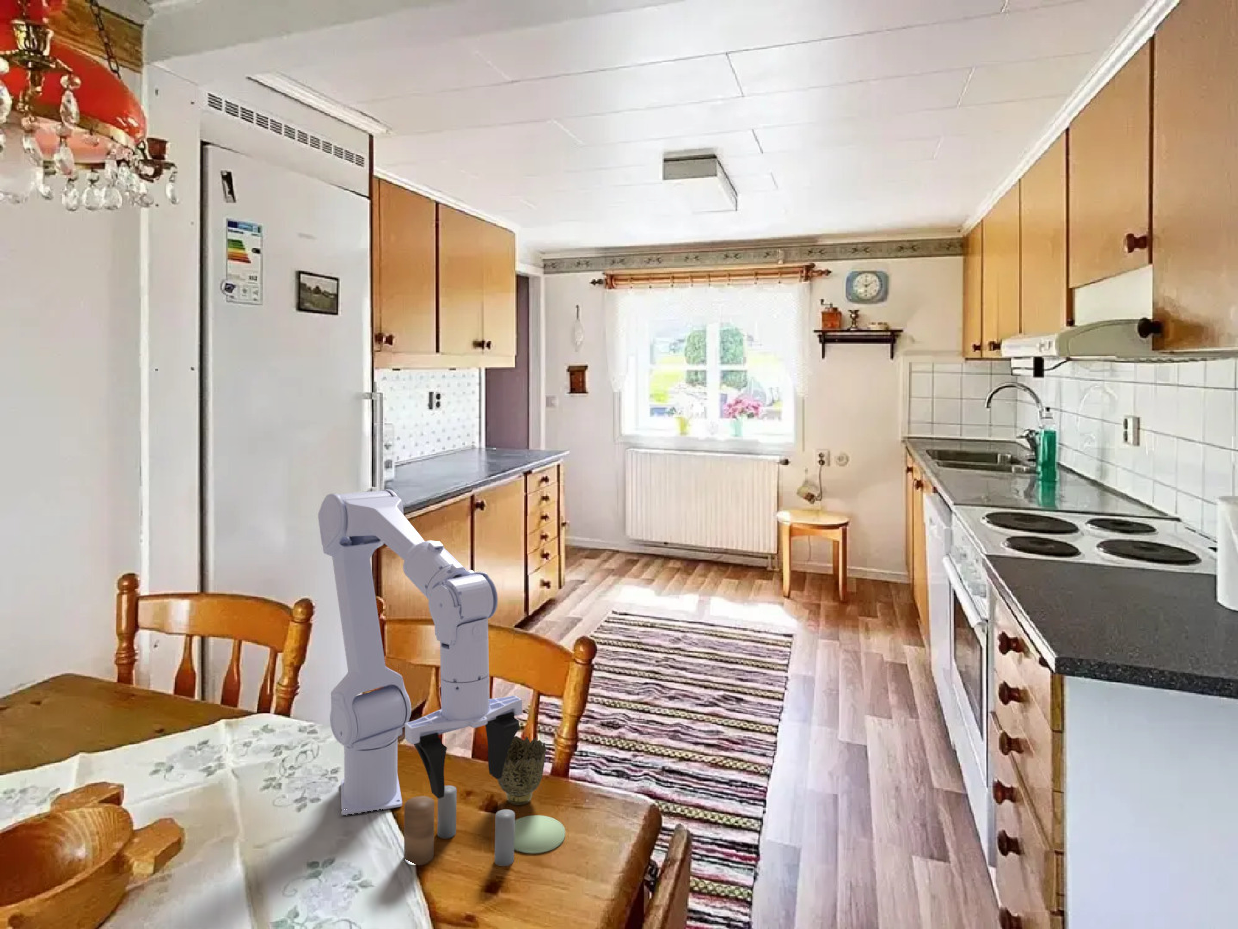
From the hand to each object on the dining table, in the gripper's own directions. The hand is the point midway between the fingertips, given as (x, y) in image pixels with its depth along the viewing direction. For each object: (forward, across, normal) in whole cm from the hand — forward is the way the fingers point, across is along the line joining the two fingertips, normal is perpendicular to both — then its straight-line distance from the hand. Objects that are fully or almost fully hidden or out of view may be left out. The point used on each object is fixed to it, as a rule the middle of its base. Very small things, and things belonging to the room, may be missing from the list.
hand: (467, 785), depth 91 cm
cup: (+10, +13, +11) cm, 20 cm away
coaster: (+11, +10, +2) cm, 15 cm away
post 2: (+11, +5, 0) cm, 12 cm away
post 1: (+10, +1, +9) cm, 14 cm away
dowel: (+10, -4, +6) cm, 13 cm away
